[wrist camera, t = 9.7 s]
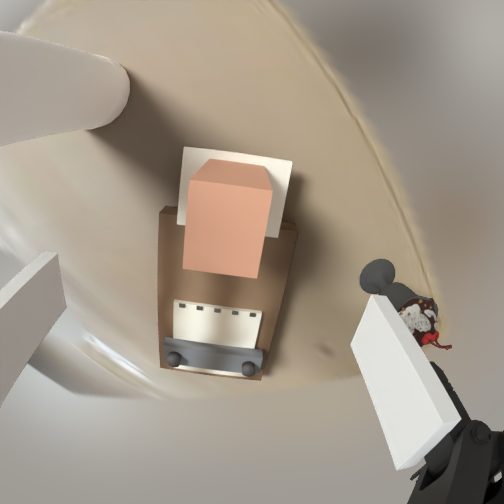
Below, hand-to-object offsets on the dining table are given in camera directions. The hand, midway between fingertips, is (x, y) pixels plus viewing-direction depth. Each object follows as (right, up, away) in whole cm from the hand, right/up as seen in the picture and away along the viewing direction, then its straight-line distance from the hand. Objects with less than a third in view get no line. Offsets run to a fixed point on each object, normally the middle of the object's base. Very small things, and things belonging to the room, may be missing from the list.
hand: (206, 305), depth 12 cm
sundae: (+17, -1, +24) cm, 30 cm away
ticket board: (-2, -4, +25) cm, 25 cm away
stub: (0, +8, +17) cm, 18 cm away
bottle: (-15, +19, +14) cm, 28 cm away
